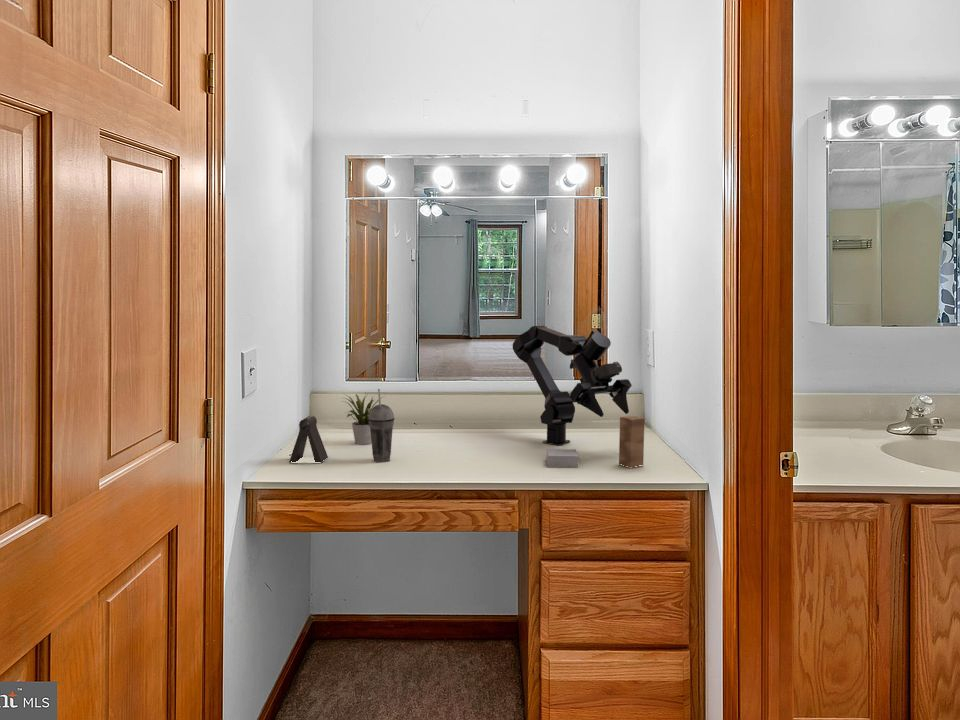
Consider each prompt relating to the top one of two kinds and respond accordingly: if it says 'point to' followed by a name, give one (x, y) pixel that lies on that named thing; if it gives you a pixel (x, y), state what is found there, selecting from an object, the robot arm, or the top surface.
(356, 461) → the top surface
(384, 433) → the beverage cup
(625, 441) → the walnut block
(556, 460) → the plinth
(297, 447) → the phone stand
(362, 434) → the house plant
